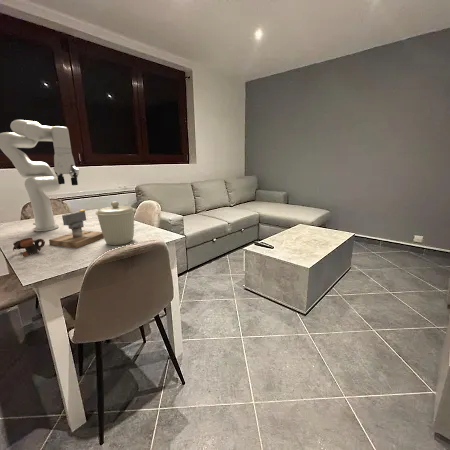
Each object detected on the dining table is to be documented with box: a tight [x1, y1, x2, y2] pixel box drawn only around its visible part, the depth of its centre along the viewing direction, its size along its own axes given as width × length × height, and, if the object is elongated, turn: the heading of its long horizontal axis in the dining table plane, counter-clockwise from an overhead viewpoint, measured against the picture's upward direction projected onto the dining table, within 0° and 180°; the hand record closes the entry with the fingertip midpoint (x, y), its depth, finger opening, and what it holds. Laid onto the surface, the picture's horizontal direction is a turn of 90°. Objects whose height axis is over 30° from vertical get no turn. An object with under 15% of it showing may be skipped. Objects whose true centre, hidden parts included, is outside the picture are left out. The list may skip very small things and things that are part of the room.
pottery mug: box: [12, 237, 46, 258], centre depth 114 cm, size 12×10×8 cm
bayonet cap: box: [61, 209, 87, 230], centre depth 128 cm, size 11×7×8 cm, turn 159°
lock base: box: [48, 227, 104, 249], centre depth 130 cm, size 18×18×7 cm
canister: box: [95, 200, 136, 246], centre depth 124 cm, size 18×18×21 cm
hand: (68, 184), depth 134 cm, fingers open, 9 cm apart
